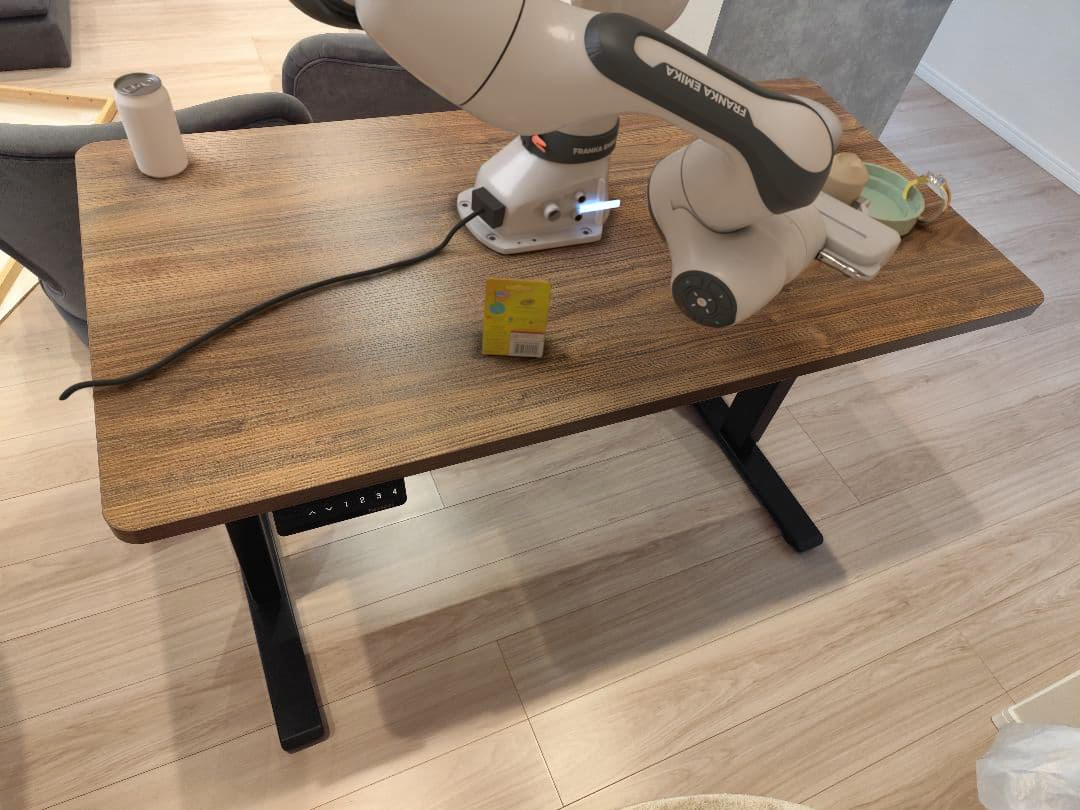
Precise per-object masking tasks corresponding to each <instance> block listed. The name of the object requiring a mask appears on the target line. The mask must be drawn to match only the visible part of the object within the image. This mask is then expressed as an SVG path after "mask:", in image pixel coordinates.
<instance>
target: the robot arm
mask: <svg viewBox="0 0 1080 810" xmlns="http://www.w3.org/2000/svg"><path fill="white" fill-rule="evenodd" d="M288 1H289V3H291V5H293V6H294V7H295V8H296V9H297V10H299V11H300V12H301V13H303V14H304V15H306V16H308V17H309V18H310V19H313V20H315V21H317V22H319V23H322V24H324V25H327V26H330V27H333V28H339V29H346V30H358V31H363V32H364V33H365V34H366V35H367V37H368V38H369V39H370V40H372V41H373V42H374V43H375V44H376V45H377V46H378V47H379V48H380V49H381V50H383V52H385V54H387V55H388V56H389V57H390V58H391V59H393V61H394V62H396V63H397V64H398V65H400V66H401V67H402V68H403V69H404V70H405V71H407V72H408V73H409V74H411V75H412V76H413V77H415V78H416V79H417V80H418V81H419V82H421V83H422V84H424V85H425V86H426V87H428V88H429V89H430V90H431V91H434V92H435V93H437V94H438V95H439V96H440V97H442V98H443V99H445V100H447V101H448V102H450V103H452V104H453V105H455V106H457V108H460V109H461V110H463V111H464V112H466V113H468V114H469V115H470V116H472V117H474V118H476V119H477V120H479V121H480V122H483V123H484V124H486V125H489V126H490V127H493V128H496V129H499V130H502V131H504V132H506V133H510V134H514V135H517V136H515V137H514V138H513V139H512V140H511V141H510V142H509V143H507V144H506V145H505V146H503V147H502V148H501V149H500V150H499V151H497V152H496V153H495V154H494V155H492V157H489V159H487V160H486V161H484V162H483V164H482V165H481V166H480V167H479V169H478V170H477V173H476V177H475V181H474V184H473V186H472V187H469V188H467V189H465V190H463V191H461V192H459V193H458V195H457V199H456V209H457V210H456V211H457V214H458V216H459V218H460V219H461V220H460V221H459V222H458V223H456V224H455V225H454V226H453V227H452V228H451V229H450V231H448V234H447V235H446V236H445V238H444V239H443V241H442V242H441V243H440V244H439V245H438V246H436V247H434V248H433V249H431V250H430V251H427V252H426V253H424V254H422V255H419V256H416V257H412V258H410V259H406V260H401V261H396V262H393V263H390V264H386V265H382V266H379V267H375V268H371V269H367V270H366V269H365V270H362V271H357V272H353V273H347V274H343V275H339V276H338V275H337V276H335V277H330V278H327V279H324V280H320V281H317V282H314V283H311V284H308V285H305V286H302V287H299V288H296V289H294V290H291V291H288V292H286V293H283V294H281V295H279V296H276V297H274V298H271V299H269V300H267V301H265V302H262V303H261V304H258V305H256V306H254V307H252V308H249V309H247V310H246V311H244V312H242V313H240V314H238V315H237V316H234V317H233V318H231V319H229V320H227V321H225V322H224V323H222V324H220V325H218V326H216V327H215V328H213V329H211V330H209V331H208V332H205V334H202V335H201V336H199V337H197V338H195V339H194V340H192V341H190V342H189V343H186V344H185V345H184V346H182V347H180V348H179V349H177V350H175V351H174V352H172V353H171V354H169V355H168V356H166V357H165V358H162V359H161V360H160V361H157V362H156V363H154V364H152V365H150V366H148V367H146V368H144V369H142V370H140V371H136V372H135V373H132V374H130V375H127V376H124V377H118V378H110V379H97V380H96V379H94V380H85V381H80V382H77V383H74V384H72V385H70V386H69V387H67V388H66V389H65V390H63V392H61V394H60V396H59V397H58V400H59V401H65V400H67V399H68V398H70V397H71V396H72V395H73V394H74V393H76V392H77V391H80V390H83V389H89V388H99V387H111V386H112V387H113V386H121V385H125V384H128V383H132V382H135V381H137V380H140V379H143V378H145V377H147V376H149V375H150V374H152V373H155V372H157V371H158V370H161V369H162V368H163V367H165V366H167V365H169V364H170V363H173V361H175V360H177V359H178V358H179V357H181V356H183V355H184V354H186V353H188V352H189V351H191V350H192V349H194V348H195V347H197V346H199V345H201V344H203V343H205V342H206V341H208V340H210V339H212V338H214V337H215V336H217V335H219V334H220V333H222V332H224V331H226V330H228V329H229V328H230V327H232V326H234V325H236V324H238V323H240V322H242V321H244V320H245V319H247V318H249V317H251V316H253V315H255V314H257V313H259V312H261V311H264V310H266V309H268V308H270V307H272V306H275V305H277V304H280V303H281V302H283V301H286V300H289V299H291V298H293V297H296V296H299V295H302V294H305V293H307V292H311V291H314V290H317V289H320V288H323V287H327V286H330V285H333V284H336V283H337V284H338V283H341V282H345V281H348V280H354V279H355V280H356V279H358V278H359V279H360V278H365V277H369V276H373V275H376V274H380V273H383V272H384V273H385V272H387V271H391V270H395V269H399V268H402V267H406V266H407V267H408V266H411V265H414V264H417V263H420V262H423V261H425V260H428V259H429V258H431V257H433V256H435V255H437V254H438V253H440V252H441V251H442V250H444V249H445V248H447V246H448V244H449V243H450V241H451V240H452V238H453V237H454V236H455V234H457V232H458V231H459V230H460V229H461V228H462V227H464V226H465V227H466V228H467V229H468V231H469V232H470V233H471V234H472V235H473V236H474V238H475V239H477V240H478V241H479V242H480V243H482V244H483V246H486V247H487V248H489V249H490V250H492V251H494V252H497V253H499V254H501V255H511V254H512V255H513V254H520V253H526V252H532V251H533V252H534V251H539V250H546V249H554V248H560V247H567V246H568V247H569V246H575V245H582V244H589V243H594V242H598V241H600V240H601V239H602V237H603V226H604V224H605V223H606V221H607V220H608V218H609V215H610V213H611V209H612V208H618V207H620V203H621V200H620V199H616V200H610V196H609V195H610V193H609V184H610V183H609V181H610V180H609V178H610V168H611V167H610V166H611V159H612V153H613V152H614V150H615V149H616V145H617V142H618V136H619V130H620V124H621V118H620V116H619V115H629V114H630V115H631V114H634V115H644V116H650V117H654V118H658V119H660V120H662V121H664V122H666V123H668V124H670V125H672V126H673V127H676V128H678V129H680V130H681V131H683V132H685V133H687V134H689V135H690V136H692V137H694V138H697V139H694V141H691V142H689V143H688V144H686V145H684V146H682V147H681V148H679V149H677V150H675V151H674V152H672V153H671V154H669V155H667V156H665V157H663V158H661V159H660V160H659V161H658V162H657V163H656V164H655V165H654V166H653V169H652V171H651V173H650V174H649V179H648V182H647V190H646V203H647V209H648V213H649V217H650V219H651V221H652V224H653V226H654V228H655V230H656V232H657V235H659V237H660V239H661V240H662V241H663V243H664V244H665V245H666V247H667V248H668V251H669V255H670V260H671V261H670V262H671V274H670V275H671V276H670V282H669V283H670V284H669V286H670V287H669V288H670V294H671V297H672V299H673V302H674V304H675V305H676V307H677V309H678V310H679V311H680V312H681V313H682V314H683V316H685V317H686V318H687V319H688V320H690V321H692V322H694V323H695V324H697V325H699V326H703V327H707V328H711V329H722V328H723V329H724V328H729V327H733V326H735V325H738V324H740V323H743V322H744V321H745V320H747V319H748V318H750V317H752V316H753V315H754V314H756V313H757V312H759V310H761V309H763V307H765V306H766V305H768V304H769V302H771V301H772V300H773V299H775V297H776V296H778V294H779V293H780V292H781V291H782V289H783V287H784V286H785V285H787V284H789V283H791V282H792V281H793V280H795V279H796V278H797V277H798V276H799V275H801V274H802V273H803V272H804V271H805V270H806V269H807V268H808V267H809V266H811V265H812V263H814V262H815V261H817V263H818V262H819V263H820V264H821V265H824V266H825V267H827V268H829V269H831V270H832V271H834V272H836V273H837V274H839V275H841V276H843V277H845V278H847V279H850V280H861V281H865V282H870V281H872V280H873V279H875V278H876V276H877V275H878V274H880V272H881V268H883V267H884V266H886V265H887V263H889V261H890V260H891V258H893V256H894V254H895V253H896V252H897V249H898V248H899V246H900V244H901V241H902V239H901V236H899V233H898V232H897V231H895V230H894V229H892V228H890V227H888V226H886V225H884V224H882V223H880V222H879V221H877V220H875V219H873V218H871V217H869V216H868V210H867V208H868V207H869V205H870V203H871V201H870V200H868V199H866V198H864V197H862V196H859V197H858V198H856V199H855V200H854V202H853V204H852V207H850V206H849V205H847V204H845V203H843V202H841V201H839V200H837V199H835V198H834V197H832V196H830V195H828V194H826V193H824V192H822V191H821V190H822V188H823V186H824V184H825V182H826V180H827V178H828V176H829V173H830V170H831V167H832V163H833V158H834V155H835V153H834V144H833V139H832V136H831V133H830V130H829V128H828V126H827V124H826V123H825V121H824V119H823V118H822V117H821V116H820V114H819V113H818V112H817V111H816V110H814V109H813V108H812V107H811V106H809V105H808V104H806V103H805V102H803V101H801V100H799V99H797V98H794V97H792V96H789V95H790V94H787V93H783V92H780V91H776V90H773V89H769V88H766V87H764V86H762V85H760V84H757V83H756V82H754V81H752V80H750V79H748V78H746V77H745V76H744V75H741V74H739V73H738V72H736V71H734V70H732V69H731V68H729V67H728V66H726V65H724V64H722V63H720V62H719V61H717V60H715V59H713V58H711V57H710V56H709V55H706V54H704V53H703V52H701V51H699V50H698V49H696V48H694V47H692V46H691V45H689V44H687V43H685V42H684V41H682V40H680V39H679V38H676V37H675V36H673V35H672V34H669V33H668V32H666V31H667V30H668V29H669V28H670V27H672V26H673V25H674V24H675V23H676V22H677V21H678V20H679V18H680V17H681V16H682V14H683V13H684V11H685V10H686V8H687V6H688V4H689V2H690V0H570V3H568V2H566V1H563V0H288ZM93 386H94V387H93Z"/></svg>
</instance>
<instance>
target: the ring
mask: <svg viewBox="0 0 1080 810" xmlns="http://www.w3.org/2000/svg"><path fill="white" fill-rule="evenodd" d="M909 181H910V182H909V183H908V184H907V185H906V187H905V189H904V192H903V200H904V199H906V200H907V199H909V197H910V192H911V190H912V188H913V187H914V185H915V186H916V185H917V184H918V185H919V184H925V185H927V184H930V185H932V186H933V187H934V188H936V189H937V190H938V191H939V193H940V195H941V203H940V207H939V209H938V211H937V212H936V213H935V214H934V215H933V216H931V217H923V216H922V215H921V216H920V218H919V219H918V221H917V222H916V223H920V224H925V223H932V222H934V221H936V220H938V219H940V218H942V216H943V215H945V213H946V212H947V211H948V209H949V207H950V206H951V201H952V193H951V189H950V187H949V185H948V179H947V177H945V174H944V173H940V172H939V171H938V172H935V173H934V172H932V171H931V170H927V173H925V174H924V173H923V174H921V175H918V176H917V177H915V178H913V179H912V180H909Z"/></svg>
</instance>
